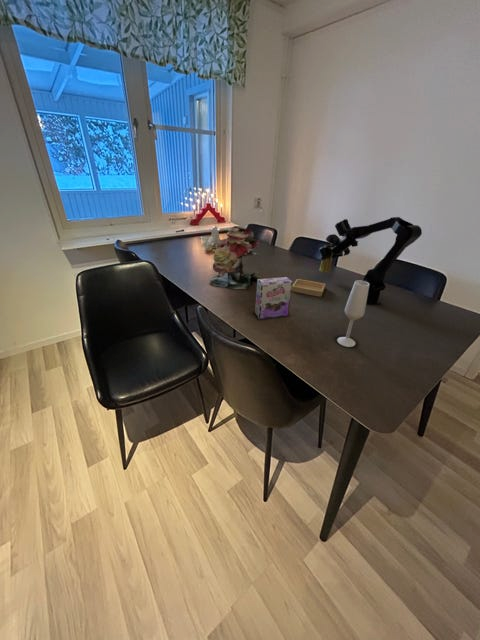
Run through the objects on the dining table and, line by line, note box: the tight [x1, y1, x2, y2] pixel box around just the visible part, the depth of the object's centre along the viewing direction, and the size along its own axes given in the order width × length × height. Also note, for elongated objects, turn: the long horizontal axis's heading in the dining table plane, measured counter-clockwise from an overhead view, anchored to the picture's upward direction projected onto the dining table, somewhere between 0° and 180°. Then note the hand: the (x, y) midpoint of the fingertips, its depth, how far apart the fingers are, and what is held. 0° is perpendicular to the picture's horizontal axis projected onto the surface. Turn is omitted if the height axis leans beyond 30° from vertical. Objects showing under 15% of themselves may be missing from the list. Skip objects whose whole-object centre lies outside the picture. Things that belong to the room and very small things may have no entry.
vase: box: [319, 244, 333, 273], centre depth 153 cm, size 6×6×14 cm
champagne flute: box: [336, 279, 369, 348], centre depth 98 cm, size 7×7×24 cm
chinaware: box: [199, 225, 222, 252], centre depth 209 cm, size 28×17×17 cm, turn 17°
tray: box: [291, 278, 327, 298], centre depth 145 cm, size 16×12×3 cm
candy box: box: [254, 276, 293, 320], centre depth 117 cm, size 14×6×16 cm, turn 105°
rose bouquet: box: [209, 225, 262, 290], centre depth 146 cm, size 26×29×30 cm
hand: (325, 258), depth 155 cm, fingers closed on vase, 5 cm apart
